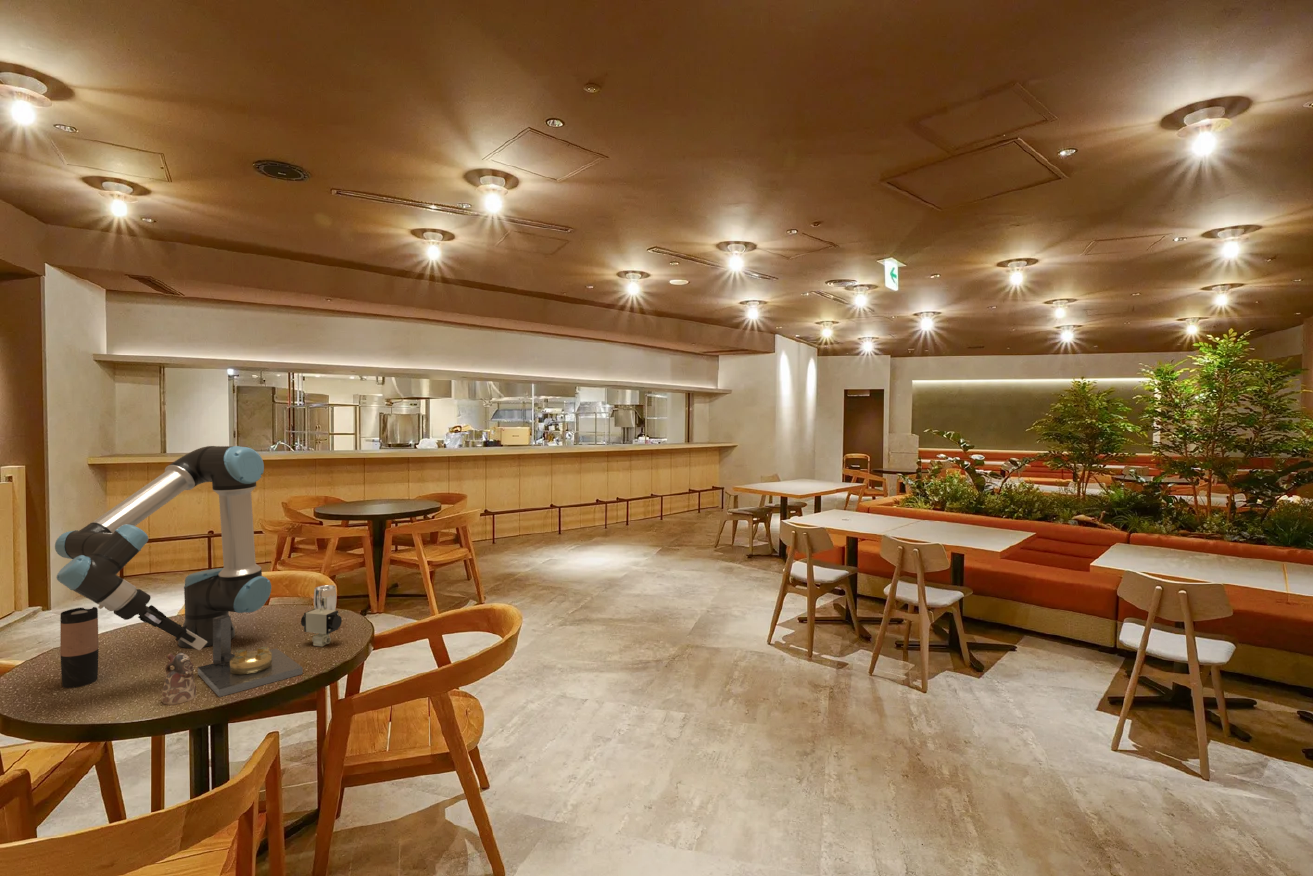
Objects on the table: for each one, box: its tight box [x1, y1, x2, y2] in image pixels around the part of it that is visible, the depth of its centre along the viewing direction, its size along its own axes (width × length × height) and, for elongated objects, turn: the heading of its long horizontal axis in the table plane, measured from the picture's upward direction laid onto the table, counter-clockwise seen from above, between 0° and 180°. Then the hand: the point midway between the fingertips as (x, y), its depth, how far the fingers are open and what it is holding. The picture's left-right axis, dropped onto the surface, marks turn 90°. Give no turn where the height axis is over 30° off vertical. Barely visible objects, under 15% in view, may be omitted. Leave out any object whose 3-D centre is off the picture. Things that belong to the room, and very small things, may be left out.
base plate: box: [197, 648, 304, 698], centre depth 174 cm, size 22×20×2 cm
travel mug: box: [59, 606, 100, 689], centre depth 168 cm, size 8×8×20 cm
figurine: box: [161, 652, 197, 706], centre depth 158 cm, size 7×7×12 cm
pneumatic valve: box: [300, 608, 343, 647], centre depth 198 cm, size 6×12×12 cm, turn 78°
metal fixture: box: [212, 615, 272, 674], centre depth 174 cm, size 18×10×13 cm, turn 74°
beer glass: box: [313, 584, 337, 610], centre depth 212 cm, size 7×7×15 cm
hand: (202, 645), depth 173 cm, fingers closed
